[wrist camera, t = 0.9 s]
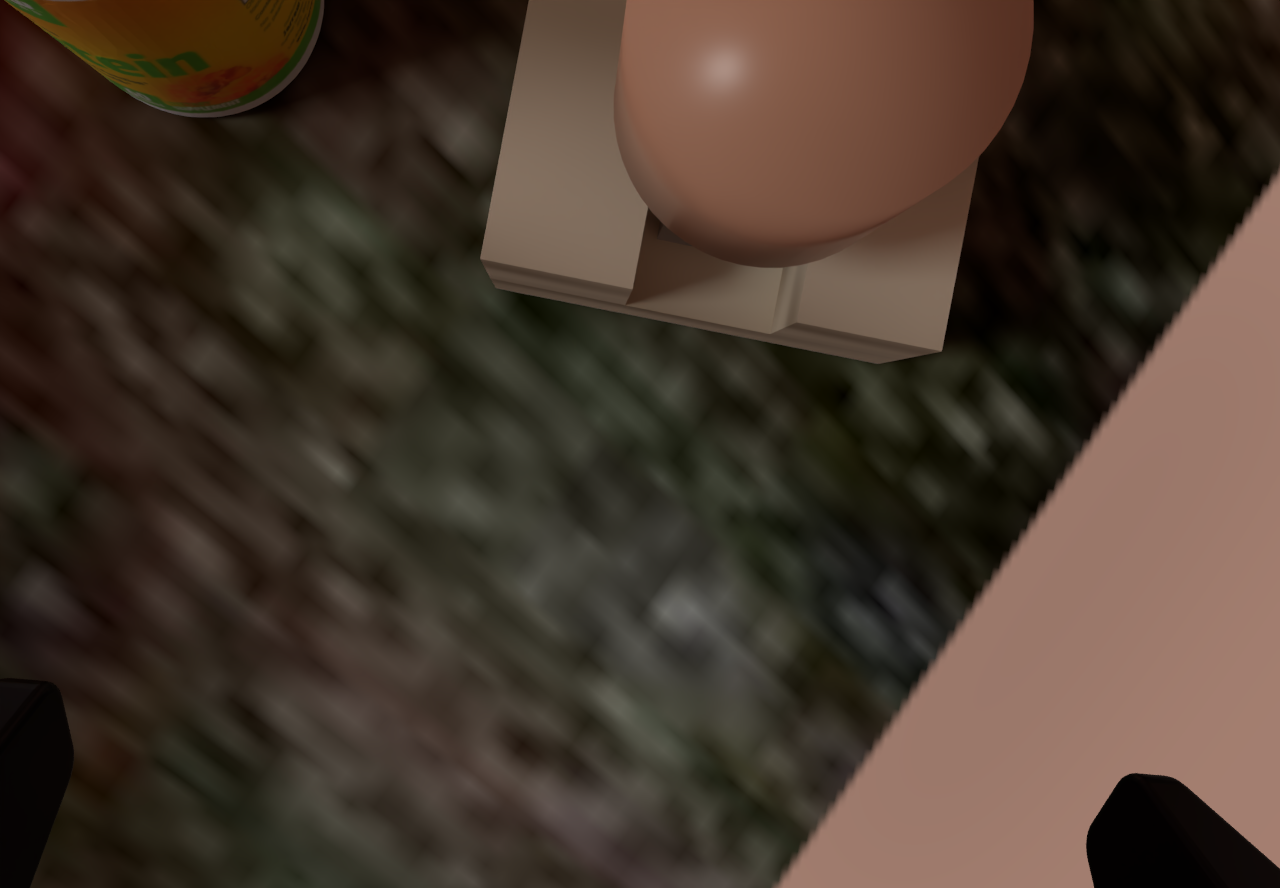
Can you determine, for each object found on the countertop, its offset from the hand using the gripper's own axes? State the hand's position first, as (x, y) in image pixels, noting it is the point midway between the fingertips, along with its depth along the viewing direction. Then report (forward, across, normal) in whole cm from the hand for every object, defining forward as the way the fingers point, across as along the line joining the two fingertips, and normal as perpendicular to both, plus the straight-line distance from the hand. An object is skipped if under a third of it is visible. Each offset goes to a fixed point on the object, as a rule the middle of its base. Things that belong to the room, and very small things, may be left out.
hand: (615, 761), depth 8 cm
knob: (+15, -2, 0) cm, 15 cm away
